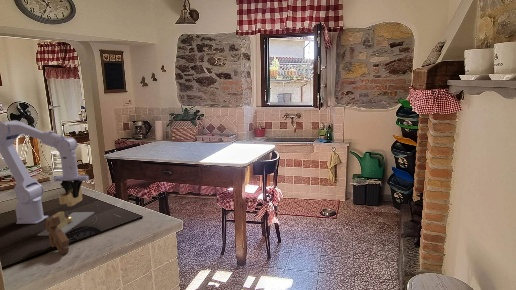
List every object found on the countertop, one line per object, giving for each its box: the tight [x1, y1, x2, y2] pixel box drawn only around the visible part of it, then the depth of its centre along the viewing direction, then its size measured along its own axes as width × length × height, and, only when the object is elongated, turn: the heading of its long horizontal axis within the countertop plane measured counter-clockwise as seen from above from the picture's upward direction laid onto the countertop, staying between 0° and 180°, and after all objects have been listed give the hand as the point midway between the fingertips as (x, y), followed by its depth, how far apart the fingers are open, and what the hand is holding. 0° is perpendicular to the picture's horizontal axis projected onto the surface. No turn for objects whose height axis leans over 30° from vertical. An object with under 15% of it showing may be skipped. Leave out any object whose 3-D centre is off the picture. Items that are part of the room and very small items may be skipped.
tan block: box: [58, 186, 83, 207], centre depth 149 cm, size 12×4×6 cm, turn 176°
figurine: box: [45, 215, 70, 256], centre depth 123 cm, size 13×2×15 cm
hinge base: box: [52, 210, 72, 229], centre depth 143 cm, size 11×3×6 cm, turn 176°
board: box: [37, 211, 95, 237], centre depth 148 cm, size 24×10×1 cm, turn 176°
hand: (73, 197), depth 150 cm, fingers closed on tan block, 2 cm apart
